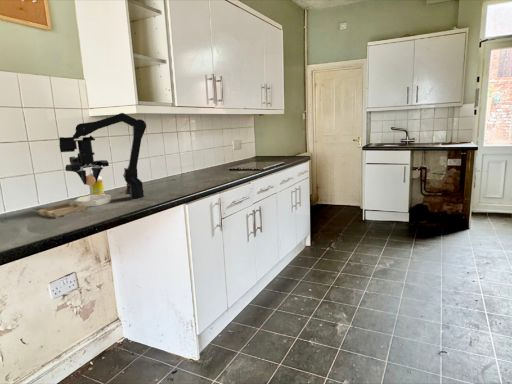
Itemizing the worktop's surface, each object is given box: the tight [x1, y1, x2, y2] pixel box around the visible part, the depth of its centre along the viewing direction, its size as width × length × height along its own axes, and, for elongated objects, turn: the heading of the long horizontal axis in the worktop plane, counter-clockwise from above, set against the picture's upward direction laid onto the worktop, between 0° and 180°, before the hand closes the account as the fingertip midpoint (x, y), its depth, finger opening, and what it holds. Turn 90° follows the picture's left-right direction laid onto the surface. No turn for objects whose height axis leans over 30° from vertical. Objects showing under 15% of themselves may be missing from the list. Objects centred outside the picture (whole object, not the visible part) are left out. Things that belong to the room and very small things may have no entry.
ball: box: [86, 174, 96, 186], centre depth 167 cm, size 5×5×5 cm
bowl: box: [73, 193, 112, 208], centre depth 169 cm, size 15×15×3 cm
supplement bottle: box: [88, 171, 105, 195], centre depth 186 cm, size 7×7×13 cm
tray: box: [37, 202, 88, 219], centre depth 155 cm, size 14×14×2 cm
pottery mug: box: [125, 180, 143, 194], centre depth 193 cm, size 12×10×8 cm
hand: (90, 183), depth 167 cm, fingers closed on ball, 5 cm apart
